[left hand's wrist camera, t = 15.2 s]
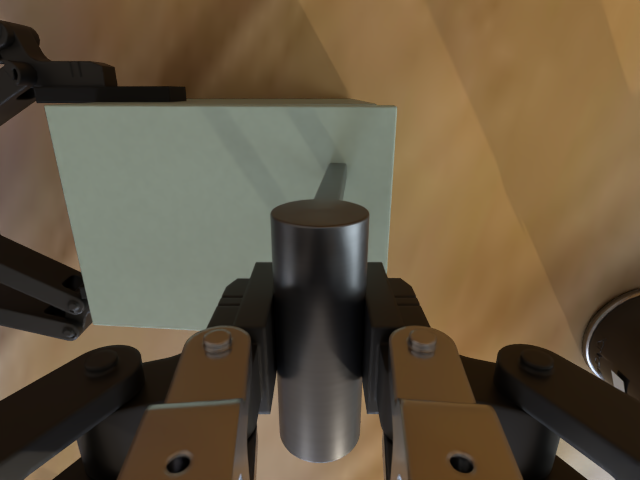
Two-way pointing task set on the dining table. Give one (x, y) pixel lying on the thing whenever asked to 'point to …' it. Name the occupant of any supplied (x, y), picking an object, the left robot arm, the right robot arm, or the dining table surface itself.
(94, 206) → the lid
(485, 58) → the dining table surface
